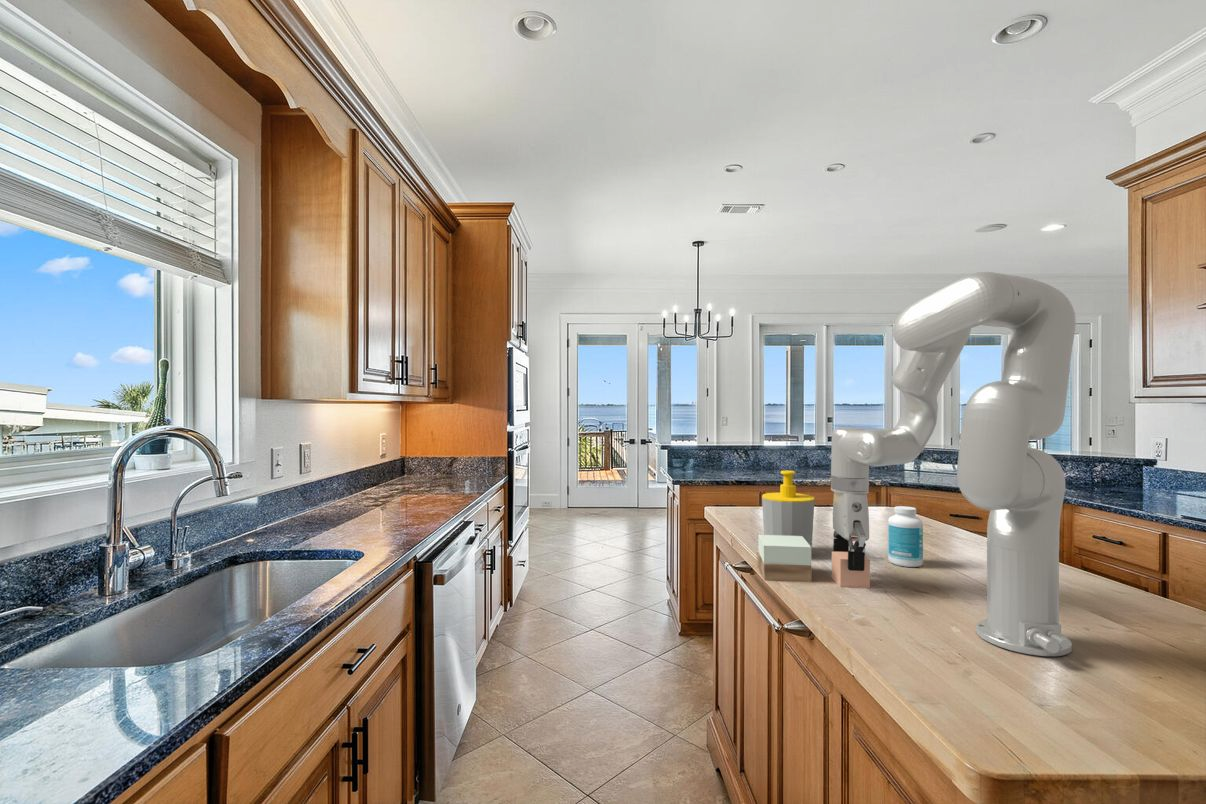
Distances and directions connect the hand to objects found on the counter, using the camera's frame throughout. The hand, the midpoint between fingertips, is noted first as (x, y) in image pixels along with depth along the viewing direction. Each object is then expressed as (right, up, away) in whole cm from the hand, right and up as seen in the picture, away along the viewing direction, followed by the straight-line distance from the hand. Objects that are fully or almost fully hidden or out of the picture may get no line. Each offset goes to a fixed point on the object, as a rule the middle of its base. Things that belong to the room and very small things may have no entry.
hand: (848, 563), depth 123 cm
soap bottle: (-5, -4, +23) cm, 24 cm away
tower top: (-12, -1, +6) cm, 14 cm away
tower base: (-12, -5, +6) cm, 14 cm away
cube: (0, -4, -1) cm, 4 cm away
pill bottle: (+20, -4, +14) cm, 24 cm away
